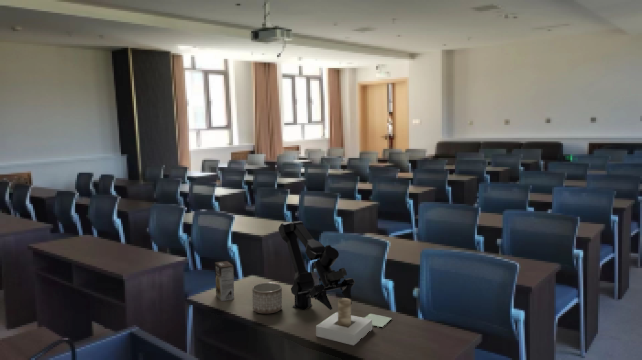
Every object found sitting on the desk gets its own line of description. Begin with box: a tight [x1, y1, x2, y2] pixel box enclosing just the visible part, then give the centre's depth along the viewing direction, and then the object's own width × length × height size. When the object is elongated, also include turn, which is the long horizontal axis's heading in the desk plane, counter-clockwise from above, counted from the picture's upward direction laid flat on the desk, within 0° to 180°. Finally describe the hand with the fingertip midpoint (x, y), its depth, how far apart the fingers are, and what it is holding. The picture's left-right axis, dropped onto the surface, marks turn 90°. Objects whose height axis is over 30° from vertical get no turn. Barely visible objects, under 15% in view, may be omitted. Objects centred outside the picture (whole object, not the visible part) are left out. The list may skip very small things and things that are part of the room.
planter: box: [251, 281, 283, 314], centre depth 213 cm, size 13×13×10 cm
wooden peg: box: [337, 297, 352, 328], centre depth 189 cm, size 5×5×13 cm
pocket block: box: [315, 311, 373, 346], centre depth 189 cm, size 16×16×4 cm
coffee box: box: [214, 260, 235, 302], centre depth 228 cm, size 9×6×16 cm
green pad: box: [364, 313, 393, 328], centre depth 200 cm, size 10×10×1 cm
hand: (341, 307), depth 190 cm, fingers open, 9 cm apart
